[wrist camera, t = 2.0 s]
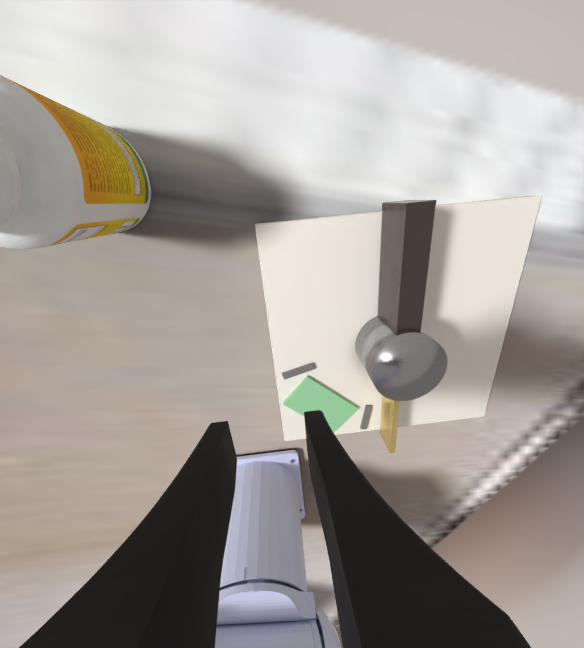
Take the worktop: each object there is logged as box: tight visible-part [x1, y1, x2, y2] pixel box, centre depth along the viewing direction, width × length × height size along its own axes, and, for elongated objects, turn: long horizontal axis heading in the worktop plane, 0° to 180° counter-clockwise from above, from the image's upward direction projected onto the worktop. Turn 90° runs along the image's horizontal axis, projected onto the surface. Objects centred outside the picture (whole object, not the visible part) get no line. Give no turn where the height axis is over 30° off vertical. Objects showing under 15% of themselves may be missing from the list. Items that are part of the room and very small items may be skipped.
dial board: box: [255, 196, 542, 441], centre depth 20 cm, size 17×17×1 cm
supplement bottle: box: [0, 75, 151, 249], centre depth 11 cm, size 5×5×10 cm
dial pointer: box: [355, 200, 448, 453], centre depth 17 cm, size 17×4×4 cm, turn 5°
